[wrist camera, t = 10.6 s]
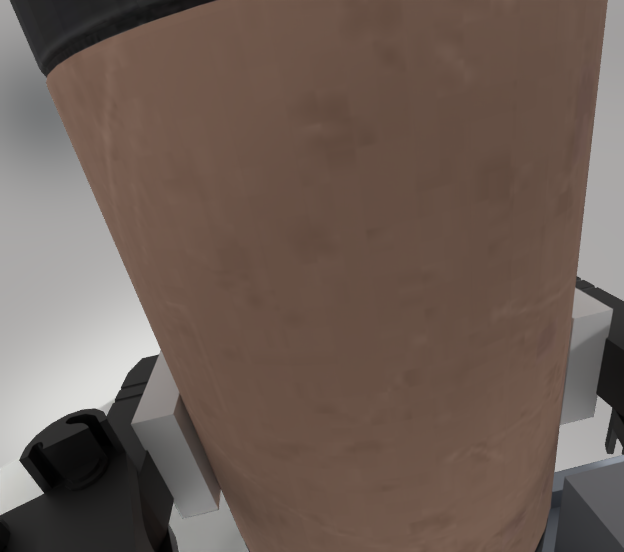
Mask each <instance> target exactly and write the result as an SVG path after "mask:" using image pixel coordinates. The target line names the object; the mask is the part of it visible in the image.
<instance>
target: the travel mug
mask: <svg viewBox="0 0 624 552" xmlns="http://www.w3.org/2000/svg"><path fill="white" fill-rule="evenodd" d="M10 2H11V4H12V6H13V9H14V11H15V13H16V16H17V18H18V20H19V23H20V25H21V27H22V30H23V32H24V34H25V36H26V38H27V41H28V43H29V46H30V48H31V50H32V52H33V55H34V57H35V60H36V61H37V64H38V66H39V69H40V70H41V72H42V73H43V74H44V75H45V76H46V77H47V82H46V83H47V87H48V89H49V92H50V94H51V96H52V99H53V101H54V103H55V105H56V108H57V110H58V112H59V115H60V117H61V119H62V122H63V124H64V126H65V129H66V131H67V133H68V136H69V138H70V140H71V143H72V145H73V147H74V149H75V152H76V154H77V156H78V159H79V161H80V163H81V166H82V168H83V170H84V173H85V175H86V177H87V179H88V182H89V184H90V187H91V189H92V191H93V193H94V196H95V198H96V200H97V203H98V205H99V207H100V210H101V212H102V214H103V217H104V219H105V221H106V223H107V226H108V228H109V231H110V233H111V235H112V237H113V240H114V242H115V244H116V247H117V249H118V251H119V254H120V256H121V258H122V261H123V263H124V265H125V267H126V270H127V272H128V274H129V277H130V279H131V281H132V284H133V286H134V288H135V291H136V293H137V295H138V298H139V300H140V302H141V305H142V307H143V309H144V311H145V314H146V316H147V318H148V321H149V323H150V325H151V328H152V330H153V332H154V335H155V337H156V339H157V341H158V344H159V346H160V348H161V351H162V353H163V356H164V358H165V360H166V362H167V365H168V367H169V369H170V372H171V374H172V376H173V379H174V381H175V383H176V386H177V388H178V390H179V393H180V395H181V397H182V399H183V402H184V404H185V406H186V409H187V411H188V413H189V416H190V418H191V420H192V423H193V425H194V427H195V430H196V432H197V434H198V436H199V439H200V441H201V443H202V446H203V448H204V450H205V453H206V455H207V457H208V460H209V462H210V464H211V467H212V469H213V471H214V474H215V476H216V478H217V480H218V483H219V485H220V487H221V490H222V492H223V494H224V497H225V499H226V501H227V504H228V506H229V508H230V511H231V513H232V515H233V517H234V520H235V522H236V524H237V527H238V529H239V531H240V534H241V536H242V537H243V539H244V541H245V544H246V546H247V548H248V550H249V552H542V549H543V543H544V538H545V533H546V528H547V523H548V515H549V510H550V506H551V497H552V488H553V479H554V470H555V461H556V452H557V444H558V434H559V426H560V417H561V408H562V399H563V391H564V382H565V373H566V364H567V355H568V346H569V338H570V329H571V320H572V311H573V302H574V293H575V285H576V276H577V267H578V258H579V248H580V240H581V231H582V223H583V214H584V204H585V196H586V187H587V178H588V170H589V160H590V152H591V143H592V134H593V125H594V117H595V107H596V98H597V90H598V81H599V72H600V64H601V55H602V46H603V37H604V28H605V19H606V10H607V2H608V0H10Z"/></svg>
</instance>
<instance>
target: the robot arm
mask: <svg viewBox="0 0 624 552" xmlns="http://www.w3.org/2000/svg"><path fill="white" fill-rule="evenodd" d="M597 395H598V396H599V397H601V398H602V399H603V400H604V401H605V402H607V403H608V404H609V405H610V406H611V407H612V413H611V418H610V423H609V428H608V433H607V437H606V442H605V447H606V451H607V454H613V453H614V448H615V444H616V439H619V441H620V443H621V445H622V446H623V450H622V455H624V301H622V300H620V299H619V298H617V297H615V296H613V295H611V294H609V293H607V292H605V291H603V290H602V289H600V288H598V287H597V288H595V287H594V285H592V284H590V283H589V282H587V281H585V280H582V281H581V278H579V277H577V276H576V285H575V293H574V302H573V311H572V320H571V329H570V338H569V346H568V355H567V364H566V373H565V382H564V391H563V399H562V408H561V417H560V425H562V424H566V423H570V422H574V421H578V420H582V419H586V418H590V417H593V416H594V412H595V406H596V401H597ZM19 461H20V462H21V463H22V465H23V466H24V467H25V469H26V470H27V471H28V473H29V474H30V475H31V476H32V478H33V479H34V480H35V482H36V483H37V484H38V486H39V487H40V488H41V489H42V491H43V492H44V494H43V495H41V496H39V497H37V498H35V499H33V500H31V501H29V502H27V503H25V504H23V505H21V506H18V507H16V508H14V509H12V510H10V511H8V512H6V513H4V514H2V515H0V552H179V551H178V546H177V542H176V537H175V535H174V533H173V531H172V529H171V527H170V526H169V520H170V515H171V510H172V506H173V502H174V504H175V506H176V508H177V509H178V511H179V513H180V515H181V517H182V519H183V518H187V517H191V516H195V515H199V514H204V513H208V512H212V511H216V510H219V500H220V491H221V487H220V485H219V483H218V480H217V478H216V476H215V474H214V471H213V469H212V467H211V464H210V462H209V460H208V457H207V455H206V453H205V450H204V448H203V446H202V443H201V441H200V439H199V436H198V434H197V432H196V430H195V427H194V425H193V423H192V420H191V418H190V416H189V413H188V411H187V409H186V406H185V404H184V402H183V399H182V397H181V395H180V393H179V390H178V388H177V386H176V383H175V381H174V379H173V376H172V374H171V372H170V369H169V367H168V365H167V362H166V360H165V358H164V356H163V353H162V351H160V354H159V355H155V356H151V357H146V358H142V359H141V360H140V361H139V362H138V363H137V364H136V365H135V366H134V368H133V369H132V370H130V372H129V373H128V374H127V376H126V378H125V380H124V382H123V384H122V386H121V390H120V391H119V392H118V394H117V396H116V398H115V403H113V404H112V406H111V408H110V410H109V413H108V415H107V417H106V415H105V413H104V412H103V411H100V410H98V409H84V410H80V411H77V412H74V413H71V414H68V415H66V416H64V417H63V418H61V419H59V420H57V421H55V422H53V423H52V424H50V425H49V426H48V427H46V428H45V429H44V430H43V431H41V432H40V433H39V434H38V435H36V436H35V437H34V439H33V440H32V441H31V442H30V443H29V444H28V445H27V447H26V448H25V450H24V451H23V453H22V455H21V457H20V460H19Z"/></svg>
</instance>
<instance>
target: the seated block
mask: <svg viewBox="0 0 624 552" xmlns="http://www.w3.org/2000/svg"><path fill="white" fill-rule="evenodd" d="M554 552H624V461H623V462H619V463H615V464H611V465H607V466H603V467H599V468H596V469H592V470H588V471H584V472H580V473H576V474H572V475H568V476H565V477H564V484H563V491H562V499H561V506H560V513H559V520H558V527H557V534H556V541H555V548H554Z"/></svg>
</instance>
